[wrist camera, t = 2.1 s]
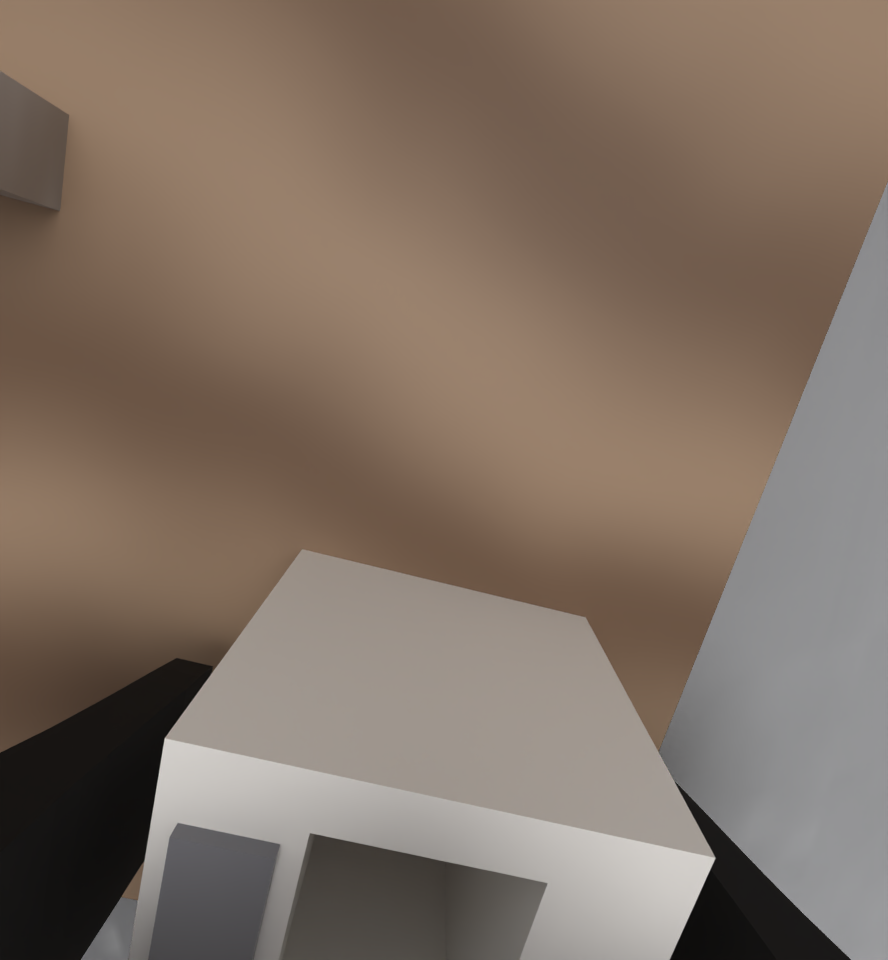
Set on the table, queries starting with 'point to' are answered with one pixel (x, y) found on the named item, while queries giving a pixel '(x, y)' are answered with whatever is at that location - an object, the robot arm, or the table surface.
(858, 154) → the base
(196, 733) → the cube with recessed slot
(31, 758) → the robot arm
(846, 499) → the table surface
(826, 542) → the table surface
